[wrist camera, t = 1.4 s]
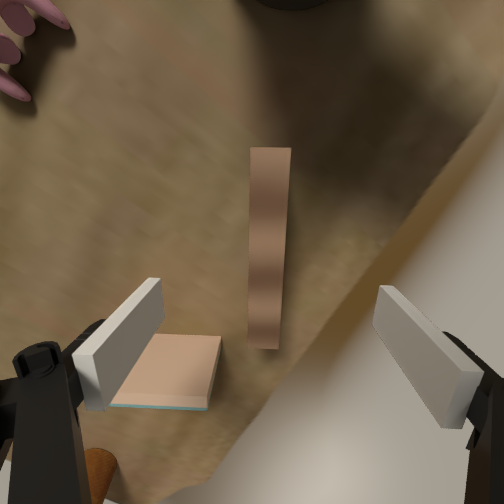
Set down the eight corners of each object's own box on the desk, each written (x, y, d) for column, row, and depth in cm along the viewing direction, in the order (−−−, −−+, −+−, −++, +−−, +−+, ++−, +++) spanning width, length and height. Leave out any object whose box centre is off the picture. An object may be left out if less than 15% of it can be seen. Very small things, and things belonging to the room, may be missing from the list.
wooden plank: (254, 152, 28) (250, 147, 19) (281, 153, 28) (291, 147, 19) (251, 297, 34) (247, 347, 25) (274, 298, 34) (278, 349, 25)
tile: (137, 333, 37) (94, 391, 27) (221, 336, 36) (206, 396, 27) (139, 344, 37) (97, 405, 28) (221, 347, 37) (207, 410, 28)
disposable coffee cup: (137, 463, 46) (95, 561, 34) (104, 484, 48) (55, 583, 37) (94, 433, 44) (35, 527, 32) (62, 457, 46) (-3, 553, 35)
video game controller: (56, 2, 26) (-44, -83, 19) (77, 25, 25) (-21, -57, 18) (13, 85, 29) (-87, 36, 22) (31, 110, 27) (-70, 65, 21)
